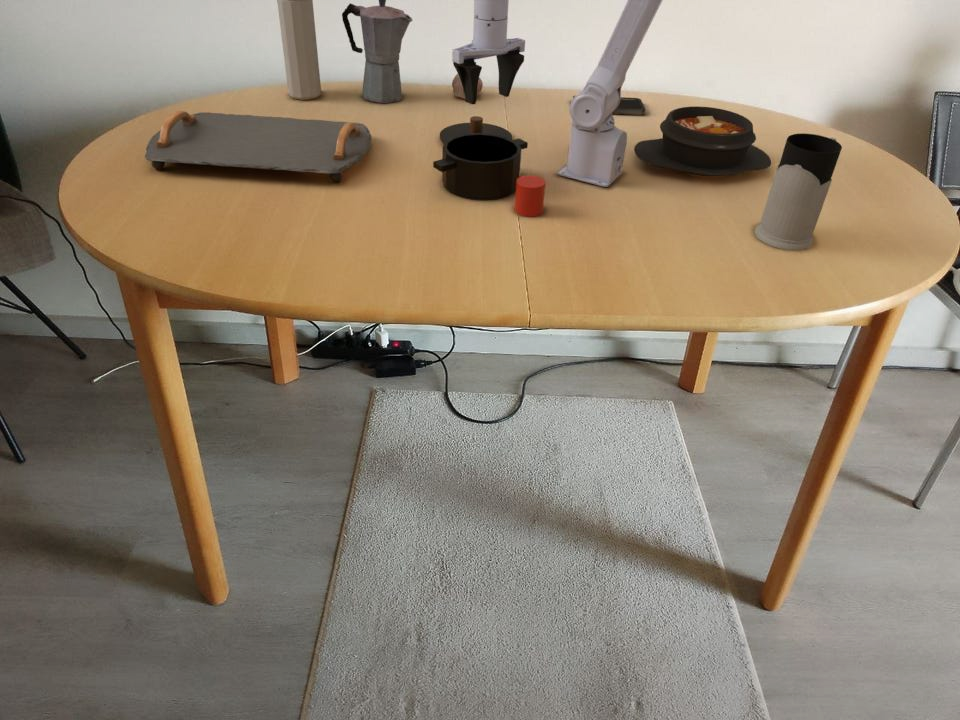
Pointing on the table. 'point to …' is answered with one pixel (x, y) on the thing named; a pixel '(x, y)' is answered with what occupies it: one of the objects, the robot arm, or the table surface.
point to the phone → (629, 106)
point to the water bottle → (300, 48)
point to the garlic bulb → (459, 88)
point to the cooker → (480, 165)
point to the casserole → (704, 143)
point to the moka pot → (380, 49)
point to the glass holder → (798, 191)
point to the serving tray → (259, 143)
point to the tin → (529, 195)
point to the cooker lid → (473, 129)
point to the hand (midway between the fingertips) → (487, 99)
